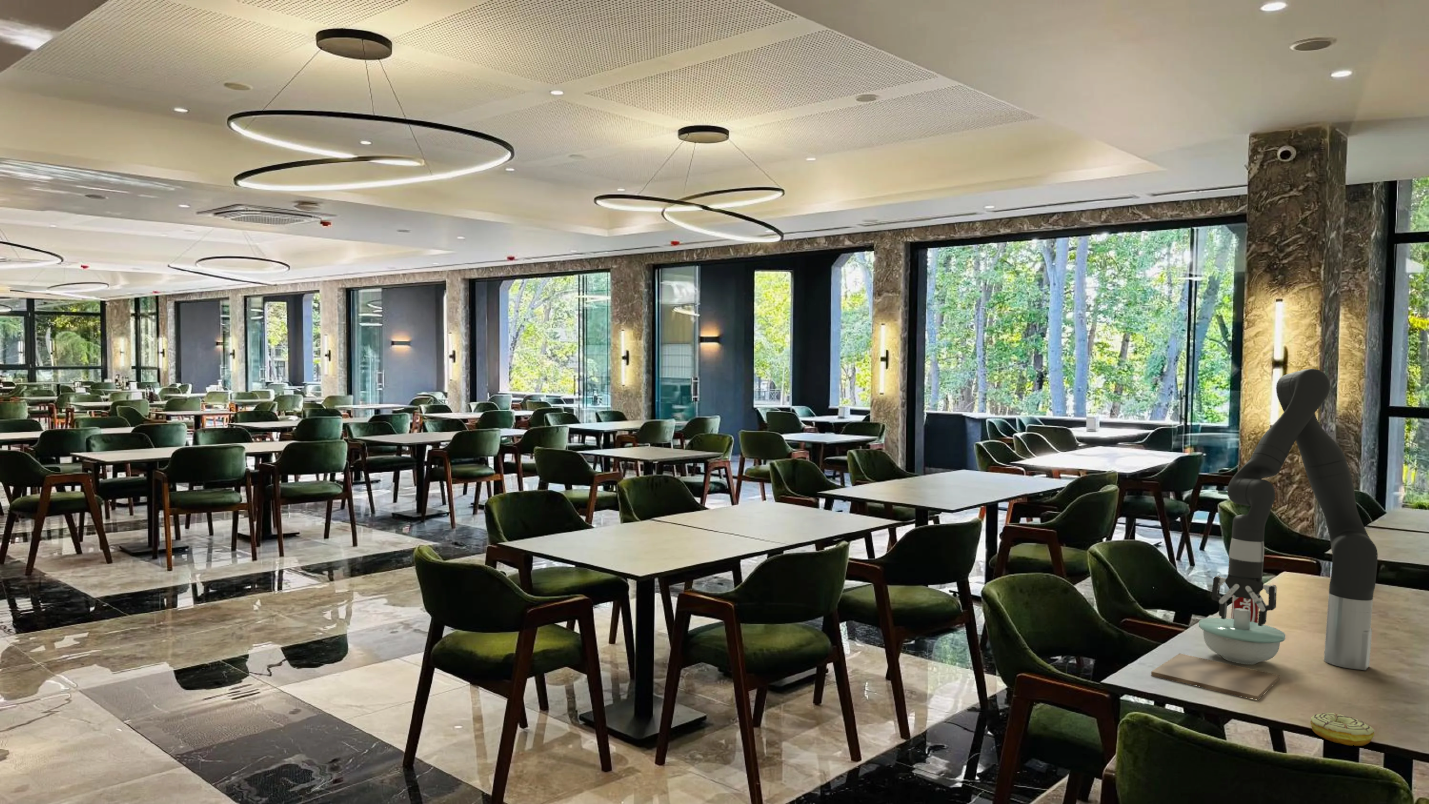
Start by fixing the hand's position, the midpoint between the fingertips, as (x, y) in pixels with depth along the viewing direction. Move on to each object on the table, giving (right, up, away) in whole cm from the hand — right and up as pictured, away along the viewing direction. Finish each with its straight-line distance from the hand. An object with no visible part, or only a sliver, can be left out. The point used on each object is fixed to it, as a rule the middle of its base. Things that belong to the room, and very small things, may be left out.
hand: (1241, 621), depth 240 cm
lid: (0, -2, 0) cm, 2 cm away
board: (-15, -9, -16) cm, 24 cm away
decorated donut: (-9, -11, -51) cm, 53 cm away
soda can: (+21, -9, +36) cm, 43 cm away
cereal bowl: (-1, -10, 0) cm, 10 cm away
